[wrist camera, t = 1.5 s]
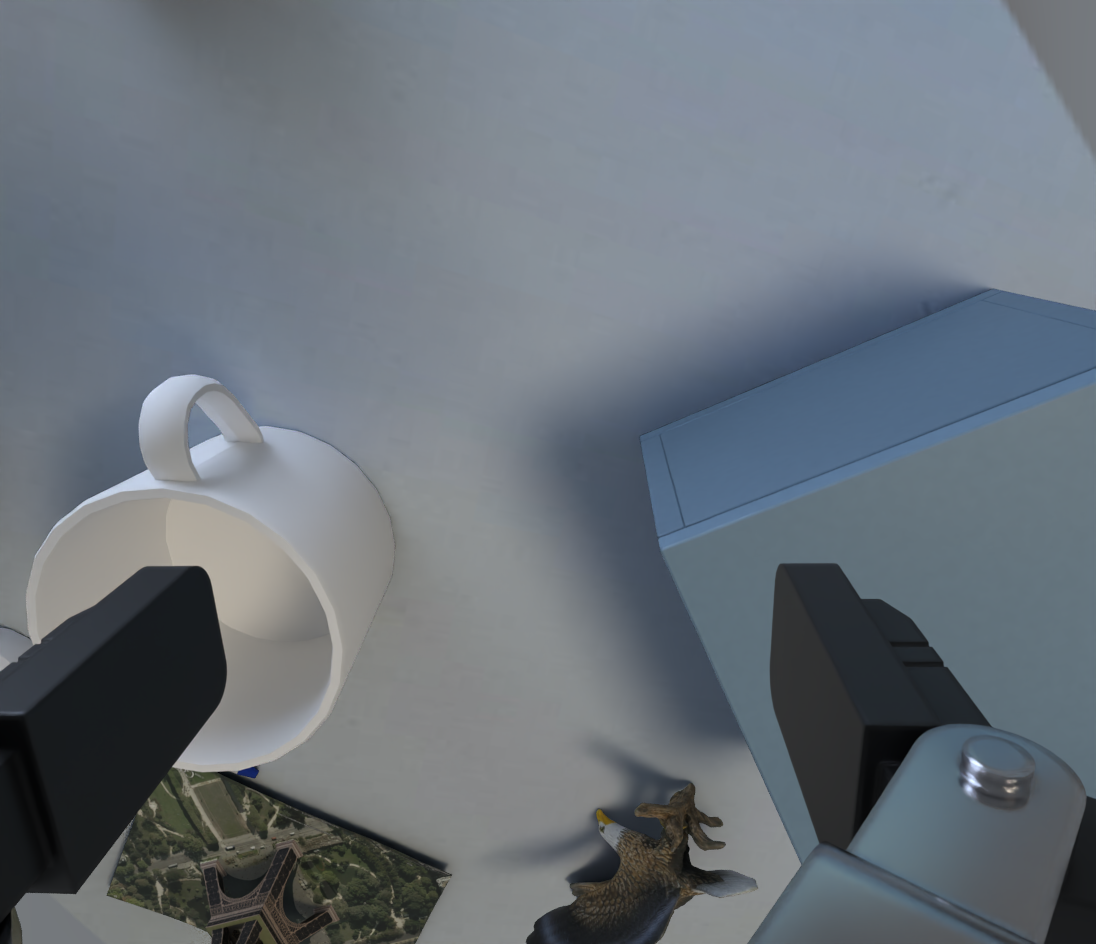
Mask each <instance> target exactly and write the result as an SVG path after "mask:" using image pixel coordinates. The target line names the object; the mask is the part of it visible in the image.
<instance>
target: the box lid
mask: <svg viewBox="0 0 1096 944" xmlns="http://www.w3.org/2000/svg"><path fill="white" fill-rule="evenodd" d="M658 542H659V548H660V552H661V554H662V557H663V559H664V561H665V563H666V566H667V568H668V570H669V572H670V574H671V577H672V579H673V581H674V583H675V585H676V588H677V590H678V592H679V594H680V597H681V599H682V601H683V603H684V605H685V608H686V610H687V612H688V614H689V616H690V619H691V621H692V623H693V625H694V628H695V630H696V632H697V634H698V636H699V639H700V641H701V643H702V645H703V647H704V650H705V652H706V654H707V656H708V659H709V661H710V663H711V665H712V667H713V670H714V672H715V674H716V676H717V679H718V681H719V683H720V685H721V687H722V690H723V692H724V694H725V696H726V698H727V701H728V703H729V705H730V707H731V710H732V712H733V714H734V716H735V718H736V721H737V723H738V725H739V727H740V729H741V732H742V734H743V736H744V738H745V741H746V743H747V745H748V747H749V749H750V752H751V754H752V756H753V758H754V761H755V763H756V765H757V767H758V769H759V772H760V774H761V776H762V778H763V780H764V783H765V785H766V787H767V789H768V792H769V794H770V796H771V798H772V800H773V803H774V805H775V807H776V809H777V811H778V814H779V816H780V818H781V820H782V823H783V825H784V827H785V829H786V831H787V834H788V836H789V838H790V840H791V843H792V845H793V847H794V849H795V851H796V854H797V856H798V858H799V860H800V862H801V865H802V864H803V862H804V861H805V860H806V858H807V857H808V855H809V854H810V853H811V851H812V850H813V849H814V848H815V847H816V846H817V845H818V844H819V841H818V838H817V835H816V832H815V830H814V827H813V824H812V821H811V818H810V815H809V812H808V809H807V806H806V803H805V800H804V797H803V794H802V791H801V788H800V786H799V783H798V780H797V777H796V774H795V771H794V768H793V765H792V762H791V759H790V756H789V753H788V750H787V747H786V744H785V741H784V739H783V736H782V733H781V730H780V727H779V724H778V721H777V718H776V715H775V712H774V708H773V703H772V697H771V689H770V652H771V636H772V619H773V603H774V587H775V576H776V571H777V568H778V566H779V564H780V563H837V564H838V565H839V566H840V568H841V569H842V571H843V572H844V574H845V575H846V577H847V578H848V580H849V581H850V583H851V584H852V586H853V587H854V589H855V590H856V592H857V593H858V595H859V597H860V598H861V599H881V600H883V601H884V602H886V603H888V604H889V605H891V606H892V607H894V608H895V609H897V610H899V611H900V612H902V613H903V614H905V615H906V616H908V617H910V618H911V619H912V620H913V621H914V623H915V624H916V625H917V627H918V628H919V629H920V631H921V632H922V633H923V635H924V636H925V638H926V639H927V640H928V642H929V647H933V648H934V650H935V651H936V652H937V654H938V655H939V656H940V658H941V659H942V660H943V662H944V667H948V668H949V670H950V671H951V672H952V674H953V675H954V676H955V678H956V679H957V680H958V682H959V683H960V684H961V686H962V687H963V689H964V690H965V691H966V693H967V694H968V695H969V697H970V698H971V699H972V701H973V702H974V703H975V705H976V706H977V707H978V709H979V710H980V711H981V713H982V714H983V715H984V717H985V718H986V719H987V721H988V722H989V723H990V725H991V726H992V727H993V728H998V729H1002V730H1005V731H1008V732H1012V733H1015V734H1017V735H1020V736H1022V737H1025V738H1027V739H1029V740H1031V741H1033V742H1035V743H1037V744H1039V745H1041V746H1043V747H1045V748H1046V749H1048V750H1050V751H1051V752H1053V753H1054V754H1055V755H1057V756H1058V757H1059V758H1061V759H1062V760H1063V761H1065V762H1066V763H1067V764H1068V765H1069V766H1070V767H1071V768H1072V769H1073V770H1074V772H1075V773H1076V774H1077V775H1078V777H1079V778H1080V780H1081V782H1082V784H1083V786H1084V788H1085V792H1086V796H1089V797H1092V798H1095V799H1096V368H1095V369H1092V370H1090V371H1087V372H1085V373H1082V374H1080V375H1077V376H1074V377H1072V378H1069V379H1067V380H1064V381H1062V382H1059V383H1056V384H1054V385H1051V386H1049V387H1046V388H1044V389H1041V390H1038V391H1036V392H1033V393H1031V394H1028V395H1026V396H1023V397H1020V398H1018V399H1015V400H1013V401H1010V402H1008V403H1005V404H1002V405H1000V406H997V407H995V408H992V409H990V410H987V411H985V412H982V413H979V414H977V415H974V416H972V417H969V418H967V419H964V420H961V421H959V422H956V423H954V424H951V425H949V426H946V427H943V428H941V429H938V430H936V431H933V432H931V433H928V434H925V435H923V436H920V437H918V438H915V439H913V440H910V441H907V442H905V443H902V444H900V445H897V446H895V447H892V448H890V449H887V450H884V451H882V452H879V453H877V454H874V455H872V456H869V457H866V458H864V459H861V460H859V461H856V462H854V463H851V464H848V465H846V466H843V467H841V468H838V469H836V470H833V471H830V472H828V473H825V474H823V475H820V476H818V477H815V478H812V479H810V480H807V481H805V482H802V483H800V484H797V485H795V486H792V487H789V488H787V489H784V490H782V491H779V492H777V493H774V494H771V495H769V496H766V497H764V498H761V499H759V500H756V501H753V502H751V503H748V504H746V505H743V506H741V507H738V508H735V509H733V510H730V511H728V512H725V513H723V514H720V515H717V516H715V517H712V518H710V519H707V520H705V521H702V522H700V523H697V524H694V525H692V526H689V527H687V528H684V529H682V530H679V531H676V532H674V533H671V534H669V535H666V536H664V537H661V538H659V540H658Z"/></svg>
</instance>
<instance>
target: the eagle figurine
mask: <svg viewBox="0 0 1096 944" xmlns="http://www.w3.org/2000/svg"><path fill="white" fill-rule="evenodd" d="M694 795H695V786H694V785H693V784H692V783H689V784H688V785H687V787H685V788H684V789H683V790H681V791H678V792H676V793H675V794H674V796H672V797H671V799H670V803H669V804H668V805H659V804H647V803H641V804H640V805H639V806H638V807H637V808H636V809H635V816H637V817H640V816H643V817H657V818H658V819H659V820H660V823H661V825H662V826H663V827H664V828H663V830H662V832H661V839H660V840H655V839H653V838H650V837H648V836H646V835H645V834H641V833H639V832H636V831H633V830H629V829H628V828H625V827H622V826H620V825H619V824H618V823H616V822H614V821H612V820H610V819H609V818H608V817H607V816H606V815H605V814H603V812H602V811H601V809H598V811H597V812H596V815H597V819H598V823H599V832H600V834H601V835H602V837H603V838H604V839H605V840H606V841H607V842H608V843H609V844H610V845H611V846H612V848H613V849H614V850H615V851H616V852H617V854H618V855H619V856H620V859H621V863H620V867H619V870H618V871H617V873H616V874H615V876H614V877H613V878H612V879H611V880H606V881H603V882H585V883H582V882H578V883H572V884H570V888H571V889H574V890H573V891H572V894H573V895H574V896H578V898H577V899H576V900H575V901H574V902H573V903H572V904H571V905H568V906H562V907H559V908H557V909H554V910H552V911H550V912H548V913H546V914H545V915H543V916H542V917H541V918H539V919H538V920H537V921H536V922H535V924H534V931H533V932H532V933H531V934H530V935H529V936H528V937H527V939H526V944H656V943H657V942H658V941H659V940H661V938H662V937H663V935H664V933H665V931H666V929H667V926H668V924H669V921H670V919H671V917H672V915H673V913H674V910H675V909H677V908H679V907H680V906H683V905H685V904H686V902H688V901H689V900H691V899H692V898H693V896H695V895H700V894H709V895H711V896H714V897H719V898H723V897H727V896H735V895H740V894H744V893H747V892H752V891H755V890H757V889H758V886H757V885H756V880H755V879H753V878H750V877H747V876H745V875H743V874H740V873H738V872H735V871H732V870H714V871H705V870H701V869H699V868H697V867H694V866H692V865H691V862H690V858H689V854H688V852H689V846H688V844H687V843H688V834H690V835H691V836H692V838H693V840H694V842H695V843H696V844H697V846H698V847H699V848H701V849H702V850H704V851H706V850H714V849H721V848H723V847H724V846H725V845H726V844H725V842H720V841H713V840H711V839H710V838H708V837H707V835H706V834H705V833H704V832H703V830H702V829H701V827H700V825H699V823H704V824H706V825H708V826H709V827H721V826H723V822H722V821H721V819H719V818H718V817H708V816H706V814H704V813H703V812H700V811H699V810H698V809H697V808H695V803H694Z"/></svg>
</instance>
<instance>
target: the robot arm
mask: <svg viewBox="0 0 1096 944" xmlns="http://www.w3.org/2000/svg"><path fill="white" fill-rule="evenodd" d="M226 680H227V662H226V656H225V651H224V646H223V641H222V636H221V630H220V625H219V620H218V615H217V610H216V604H215V599H214V594H213V589H212V584H211V580H210V578H209V575H208V574H207V572H206V571H205V569H203V568H202V567H200V566H146V567H143V568H141V569H140V570H138V571H137V572H136V573H135V574H133V575H132V576H131V577H130V578H128V579H127V580H126V581H125V582H123V583H122V584H121V585H120V586H118V587H117V588H116V589H114V590H113V591H112V592H111V593H109V594H108V595H107V596H106V597H104V598H103V599H102V600H101V601H99V602H98V603H97V604H96V605H94V606H92V607H90V608H88V609H86V610H84V611H82V612H80V613H78V614H76V615H74V616H72V617H70V618H68V619H67V620H65V621H64V622H63V623H62V624H60V625H59V626H58V627H56V628H55V629H54V630H53V631H51V632H50V633H49V634H48V635H46V636H45V637H44V638H42V639H41V644H35V645H33V646H32V647H31V648H30V649H28V650H27V651H26V652H24V653H23V654H22V655H21V656H19V657H18V662H12V663H10V664H9V665H8V666H7V667H5V668H4V669H3V670H1V671H0V944H22V930H21V924H20V921H19V918H18V915H17V912H16V909H15V905H16V904H17V903H18V902H19V901H20V899H21V898H22V897H23V896H24V894H25V893H60V894H76V893H77V892H78V890H79V889H80V888H81V886H82V885H83V884H84V882H85V881H86V880H87V879H88V877H89V876H90V875H91V873H92V872H93V871H94V869H95V868H96V867H97V865H98V864H99V863H100V861H101V860H102V859H103V857H104V856H105V855H106V853H107V852H108V851H109V850H110V848H111V847H112V846H113V844H114V843H115V842H116V840H117V839H118V838H119V836H120V835H121V834H122V832H123V831H124V830H125V828H126V827H127V826H128V824H129V823H130V822H131V821H132V819H133V818H134V817H135V815H136V814H137V813H138V811H139V810H140V809H141V807H142V806H143V805H144V803H145V802H146V801H147V799H148V798H149V797H150V795H151V794H152V793H153V792H154V790H155V789H156V788H157V786H158V785H159V784H160V782H161V781H162V780H163V778H164V777H165V776H166V774H167V773H168V772H169V770H170V769H171V768H172V766H173V765H174V764H175V763H176V761H177V760H178V759H179V757H180V756H181V755H182V753H183V752H184V751H185V749H186V748H187V747H188V745H189V744H190V743H191V741H192V740H193V739H194V737H195V736H196V735H197V734H198V732H199V731H200V730H201V728H202V727H203V726H204V724H205V723H206V722H207V720H208V719H209V718H210V716H211V715H212V714H213V712H214V711H215V710H216V708H217V707H218V705H219V704H220V702H221V699H222V697H223V694H224V690H225V686H226ZM770 689H771V697H772V703H773V708H774V712H775V715H776V718H777V721H778V724H779V727H780V730H781V733H782V736H783V739H784V741H785V744H786V747H787V750H788V753H789V756H790V759H791V762H792V765H793V768H794V771H795V774H796V777H797V780H798V783H799V786H800V788H801V791H802V794H803V797H804V800H805V803H806V806H807V809H808V812H809V815H810V818H811V821H812V824H813V827H814V830H815V832H816V835H817V838H818V841H819V844H818V845H817V846H816V847H815V848H814V849H813V850H812V851H811V853H810V854H809V855H808V857H807V858H806V860H805V861H804V862H803V864H802V865H801V867H800V868H799V870H798V871H797V873H796V874H795V876H794V877H793V878H792V880H791V881H790V883H789V884H788V886H787V887H786V889H785V890H784V891H783V893H782V894H781V896H780V897H779V899H778V900H777V902H776V903H775V905H774V906H773V907H772V909H771V910H770V912H769V913H768V915H767V916H766V918H765V919H764V920H763V922H762V923H761V925H760V926H759V928H758V929H757V931H756V932H755V934H754V935H753V936H752V938H751V939H750V941H749V942H748V944H1096V799H1095V798H1092V797H1089V796H1086V792H1085V788H1084V786H1083V784H1082V782H1081V780H1080V778H1079V777H1078V775H1077V774H1076V773H1075V772H1074V770H1073V769H1072V768H1071V767H1070V766H1069V765H1068V764H1067V763H1066V762H1065V761H1063V760H1062V759H1061V758H1059V757H1058V756H1057V755H1055V754H1054V753H1053V752H1051V751H1050V750H1048V749H1046V748H1045V747H1043V746H1041V745H1039V744H1037V743H1035V742H1033V741H1031V740H1029V739H1027V738H1025V737H1022V736H1020V735H1017V734H1015V733H1012V732H1008V731H1005V730H1002V729H998V728H993V727H992V726H991V725H990V723H989V722H988V721H987V719H986V718H985V717H984V715H983V714H982V713H981V711H980V710H979V709H978V707H977V706H976V705H975V703H974V702H973V701H972V699H971V698H970V697H969V695H968V694H967V693H966V691H965V690H964V689H963V687H962V686H961V684H960V683H959V682H958V680H957V679H956V678H955V676H954V675H953V674H952V672H951V671H950V670H949V668H948V667H944V662H943V660H942V659H941V658H940V656H939V655H938V654H937V652H936V651H935V650H934V648H933V647H929V642H928V640H927V639H926V638H925V636H924V635H923V633H922V632H921V631H920V629H919V628H918V627H917V625H916V624H915V623H914V621H913V620H912V619H911V618H910V617H908V616H906V615H905V614H903V613H902V612H900V611H899V610H897V609H895V608H894V607H892V606H891V605H889V604H888V603H886V602H884V601H883V600H881V599H861V598H860V597H859V595H858V593H857V592H856V590H855V589H854V587H853V586H852V584H851V583H850V581H849V580H848V578H847V577H846V575H845V574H844V572H843V571H842V569H841V568H840V566H839V565H838V564H837V563H780V564H779V566H778V568H777V571H776V576H775V587H774V603H773V619H772V636H771V652H770Z"/></svg>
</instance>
